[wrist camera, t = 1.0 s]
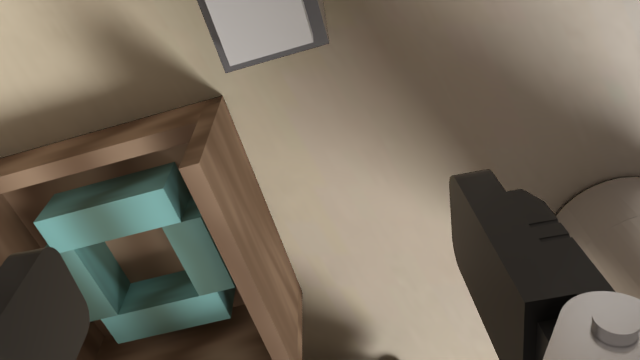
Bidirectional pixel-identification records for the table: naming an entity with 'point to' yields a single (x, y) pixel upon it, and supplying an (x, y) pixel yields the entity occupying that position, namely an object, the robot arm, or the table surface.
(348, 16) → the table surface
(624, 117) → the table surface
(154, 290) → the walled box
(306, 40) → the block
